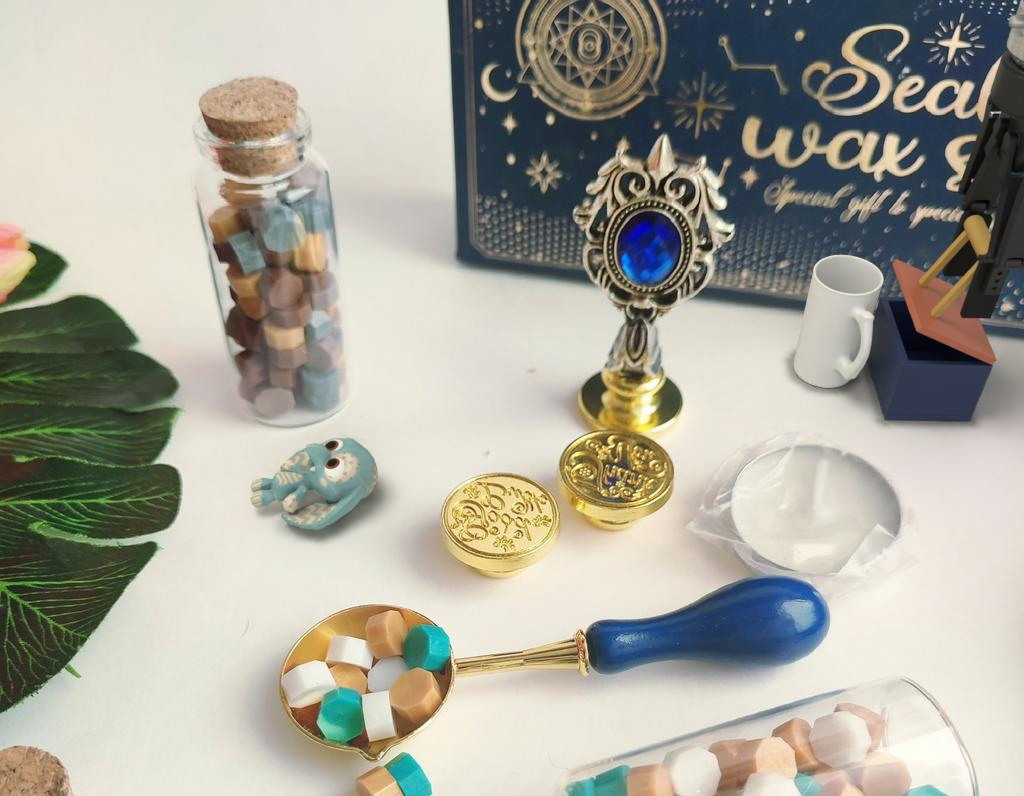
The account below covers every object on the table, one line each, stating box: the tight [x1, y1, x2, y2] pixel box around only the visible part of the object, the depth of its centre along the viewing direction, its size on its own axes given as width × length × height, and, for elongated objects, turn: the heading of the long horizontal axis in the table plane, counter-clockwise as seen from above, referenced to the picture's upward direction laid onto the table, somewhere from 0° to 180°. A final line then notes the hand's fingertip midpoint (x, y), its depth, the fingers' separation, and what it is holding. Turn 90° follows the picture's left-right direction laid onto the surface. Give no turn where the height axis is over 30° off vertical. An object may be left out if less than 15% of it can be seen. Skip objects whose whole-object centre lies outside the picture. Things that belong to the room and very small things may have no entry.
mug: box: [793, 254, 885, 389], centre depth 109 cm, size 10×7×12 cm, turn 12°
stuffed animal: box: [250, 437, 379, 531], centre depth 99 cm, size 11×7×12 cm
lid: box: [891, 215, 998, 366], centre depth 103 cm, size 9×11×9 cm
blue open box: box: [866, 296, 994, 422], centre depth 110 cm, size 9×11×7 cm
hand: (965, 294), depth 104 cm, fingers closed on lid, 6 cm apart
